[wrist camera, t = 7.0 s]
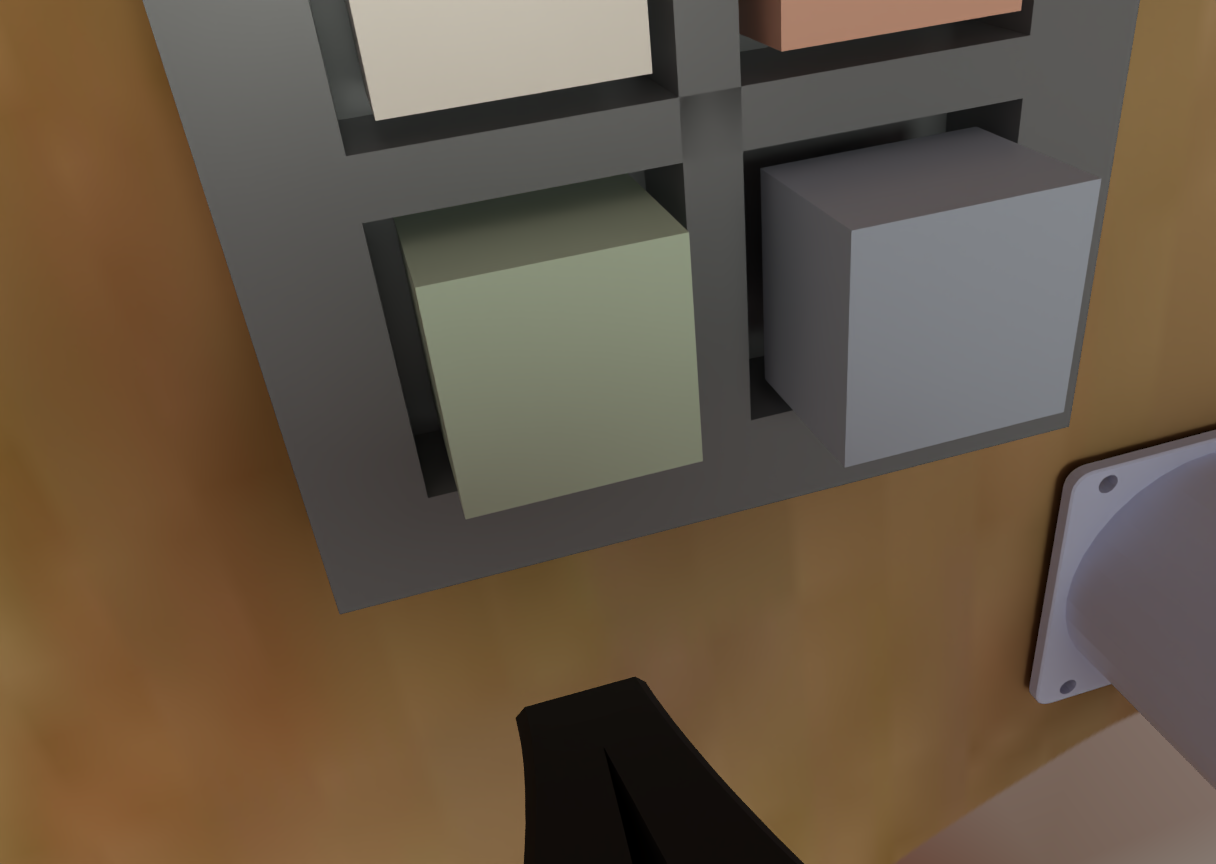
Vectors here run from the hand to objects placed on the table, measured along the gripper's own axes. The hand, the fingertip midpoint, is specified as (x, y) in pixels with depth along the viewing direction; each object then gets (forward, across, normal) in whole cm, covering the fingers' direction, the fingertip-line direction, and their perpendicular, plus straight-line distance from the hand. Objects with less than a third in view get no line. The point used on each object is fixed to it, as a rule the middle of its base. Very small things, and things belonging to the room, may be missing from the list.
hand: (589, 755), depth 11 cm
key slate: (+8, -7, -1) cm, 11 cm away
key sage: (+9, -1, -1) cm, 9 cm away
